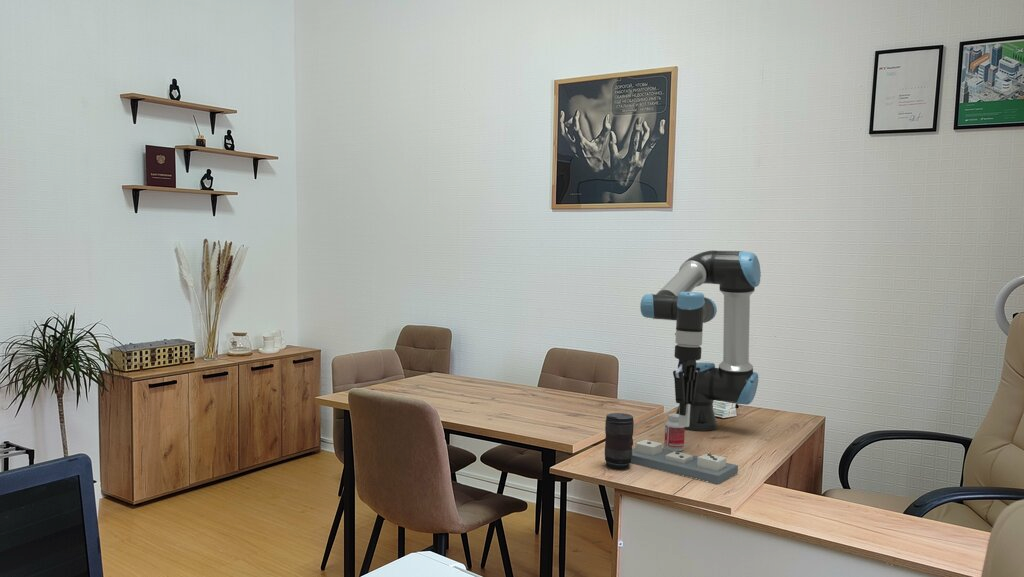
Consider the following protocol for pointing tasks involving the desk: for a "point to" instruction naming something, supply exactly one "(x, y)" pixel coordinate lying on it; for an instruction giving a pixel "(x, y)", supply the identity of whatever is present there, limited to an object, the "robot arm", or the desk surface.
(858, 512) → the desk surface
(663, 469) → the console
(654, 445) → the tile
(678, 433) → the pill bottle
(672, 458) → the tile
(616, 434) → the camera lens
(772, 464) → the desk surface
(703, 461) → the tile
